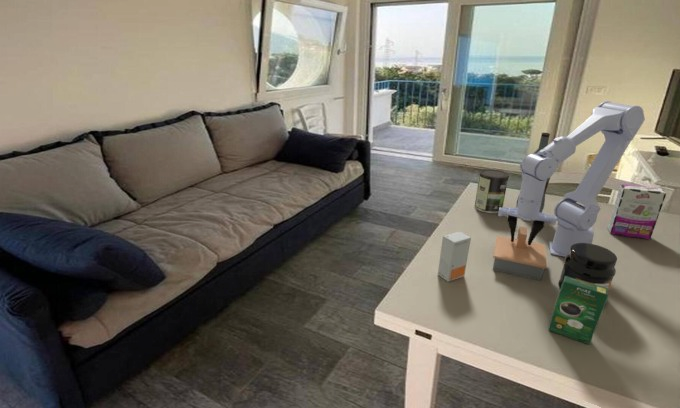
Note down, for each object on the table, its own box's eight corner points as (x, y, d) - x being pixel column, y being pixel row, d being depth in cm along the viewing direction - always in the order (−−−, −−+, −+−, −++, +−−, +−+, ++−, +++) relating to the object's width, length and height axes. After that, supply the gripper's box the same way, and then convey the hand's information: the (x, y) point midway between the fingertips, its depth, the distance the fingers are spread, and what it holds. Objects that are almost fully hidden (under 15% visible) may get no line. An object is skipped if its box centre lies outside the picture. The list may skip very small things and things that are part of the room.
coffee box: (591, 337, 80) (609, 286, 75) (591, 346, 78) (609, 294, 73) (549, 323, 84) (563, 274, 79) (547, 331, 82) (562, 280, 77)
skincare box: (448, 282, 98) (453, 242, 94) (437, 274, 102) (442, 235, 97) (465, 276, 101) (471, 237, 96) (454, 269, 104) (459, 230, 100)
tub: (539, 258, 109) (542, 246, 108) (540, 280, 99) (544, 267, 98) (495, 249, 114) (498, 238, 113) (492, 269, 104) (495, 257, 102)
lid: (543, 248, 108) (548, 230, 106) (545, 271, 98) (550, 251, 95) (496, 239, 113) (499, 222, 111) (492, 260, 103) (496, 241, 100)
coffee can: (505, 207, 145) (512, 172, 139) (497, 215, 137) (504, 179, 131) (479, 200, 150) (484, 167, 145) (470, 208, 143) (475, 173, 137)
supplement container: (606, 312, 88) (621, 268, 83) (555, 297, 93) (567, 255, 88) (605, 289, 96) (619, 248, 91) (558, 276, 101) (569, 237, 96)
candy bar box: (645, 233, 124) (662, 187, 118) (650, 240, 120) (668, 193, 114) (606, 228, 128) (620, 183, 122) (609, 234, 124) (624, 188, 118)
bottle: (511, 207, 144) (527, 130, 132) (536, 209, 143) (554, 131, 131) (518, 218, 135) (536, 135, 124) (545, 219, 134) (565, 136, 122)
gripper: (501, 199, 102) (492, 242, 107) (561, 208, 96) (549, 254, 101) (502, 190, 108) (494, 232, 113) (559, 198, 102) (548, 242, 107)
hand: (520, 242), depth 108 cm, fingers open, 4 cm apart
